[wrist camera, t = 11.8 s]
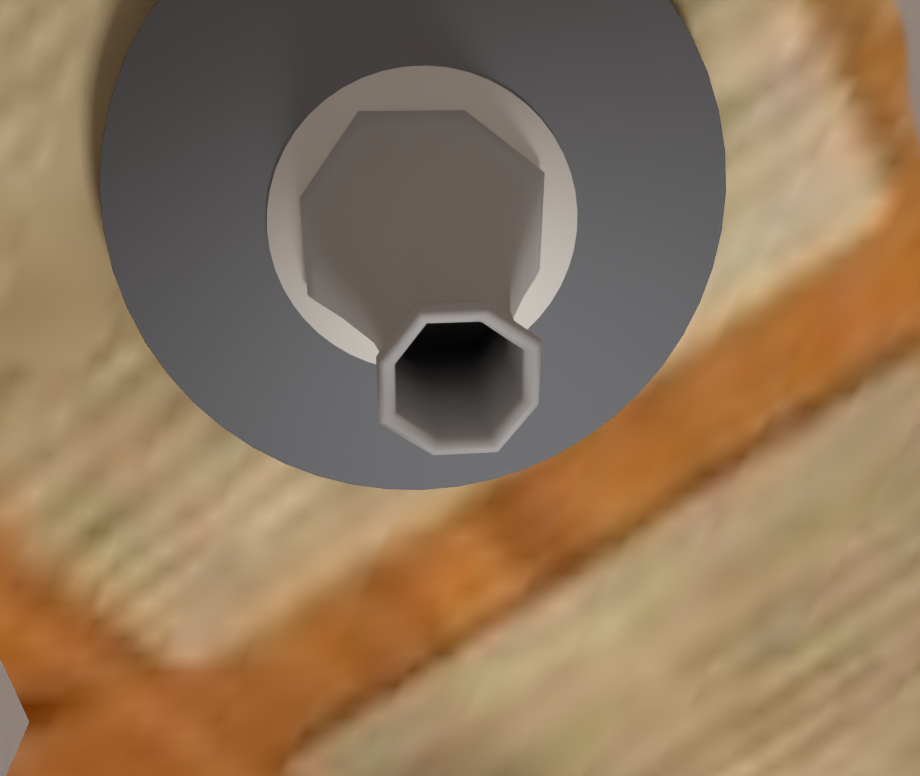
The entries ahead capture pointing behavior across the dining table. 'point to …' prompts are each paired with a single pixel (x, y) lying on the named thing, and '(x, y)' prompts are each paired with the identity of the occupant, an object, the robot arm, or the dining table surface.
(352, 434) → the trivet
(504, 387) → the flask
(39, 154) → the dining table surface
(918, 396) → the dining table surface
